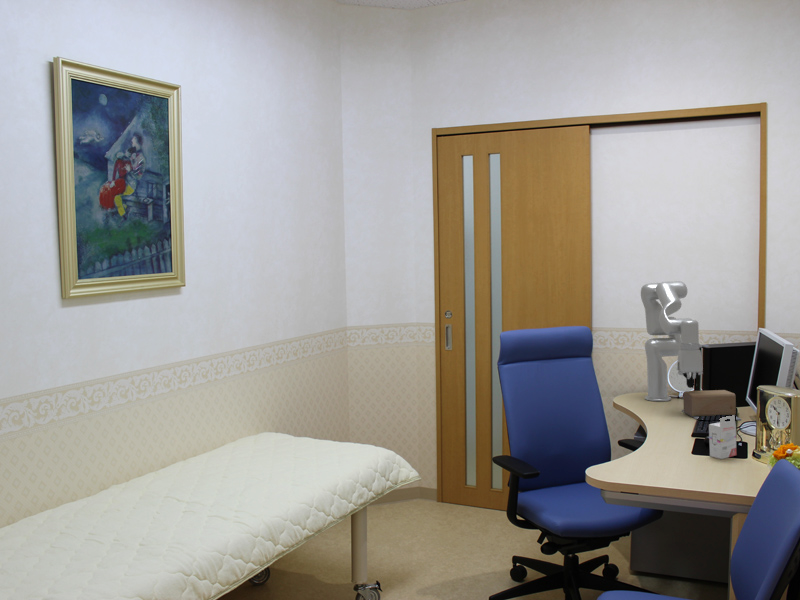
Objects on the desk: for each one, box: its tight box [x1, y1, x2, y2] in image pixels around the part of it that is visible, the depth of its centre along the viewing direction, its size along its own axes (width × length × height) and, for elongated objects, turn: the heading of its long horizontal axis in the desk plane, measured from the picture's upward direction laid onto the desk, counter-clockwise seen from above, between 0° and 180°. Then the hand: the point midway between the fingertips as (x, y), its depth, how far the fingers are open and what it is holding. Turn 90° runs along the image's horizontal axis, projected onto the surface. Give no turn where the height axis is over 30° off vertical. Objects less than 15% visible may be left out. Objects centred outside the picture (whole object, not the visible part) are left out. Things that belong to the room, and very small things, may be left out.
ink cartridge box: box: [708, 415, 737, 460], centre depth 239 cm, size 9×5×15 cm, turn 117°
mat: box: [681, 409, 742, 421], centre depth 304 cm, size 22×18×1 cm
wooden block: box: [682, 389, 737, 417], centre depth 304 cm, size 10×10×20 cm
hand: (690, 387), depth 304 cm, fingers closed
